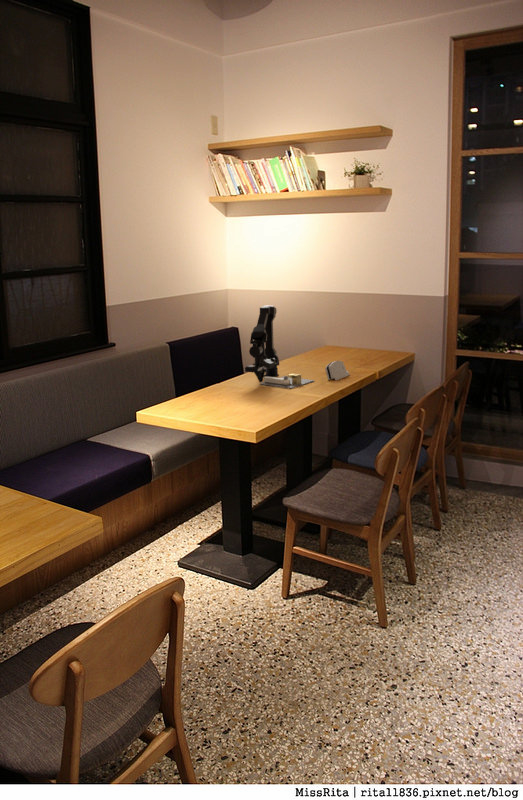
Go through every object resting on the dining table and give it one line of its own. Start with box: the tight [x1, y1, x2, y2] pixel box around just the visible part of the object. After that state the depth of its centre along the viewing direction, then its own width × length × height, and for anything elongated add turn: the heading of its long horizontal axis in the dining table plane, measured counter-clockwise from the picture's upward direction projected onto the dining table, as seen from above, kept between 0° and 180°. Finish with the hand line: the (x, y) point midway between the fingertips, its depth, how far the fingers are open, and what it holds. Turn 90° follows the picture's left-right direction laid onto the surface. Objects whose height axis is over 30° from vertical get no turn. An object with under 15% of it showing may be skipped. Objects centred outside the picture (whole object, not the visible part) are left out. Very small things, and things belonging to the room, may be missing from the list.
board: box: [259, 375, 315, 390], centre depth 371 cm, size 21×21×1 cm
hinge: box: [324, 360, 351, 381], centre depth 380 cm, size 17×5×10 cm, turn 146°
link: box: [263, 375, 290, 385], centre depth 367 cm, size 16×4×4 cm, turn 50°
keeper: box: [287, 373, 302, 384], centre depth 366 cm, size 6×4×5 cm
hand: (260, 382), depth 368 cm, fingers closed
